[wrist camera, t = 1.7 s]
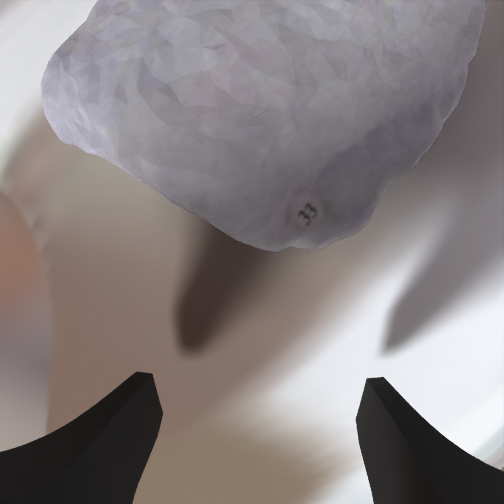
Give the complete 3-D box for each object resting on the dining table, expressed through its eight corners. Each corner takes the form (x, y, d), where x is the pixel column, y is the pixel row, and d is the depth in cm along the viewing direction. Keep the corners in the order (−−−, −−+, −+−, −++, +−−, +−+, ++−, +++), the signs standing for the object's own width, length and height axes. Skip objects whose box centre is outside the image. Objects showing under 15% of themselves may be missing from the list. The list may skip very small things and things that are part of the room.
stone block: (442, 24, 8) (241, -104, 6) (521, 10, 4) (251, -172, 1) (299, 244, 12) (72, 125, 9) (337, 318, 8) (-7, 143, 5)
